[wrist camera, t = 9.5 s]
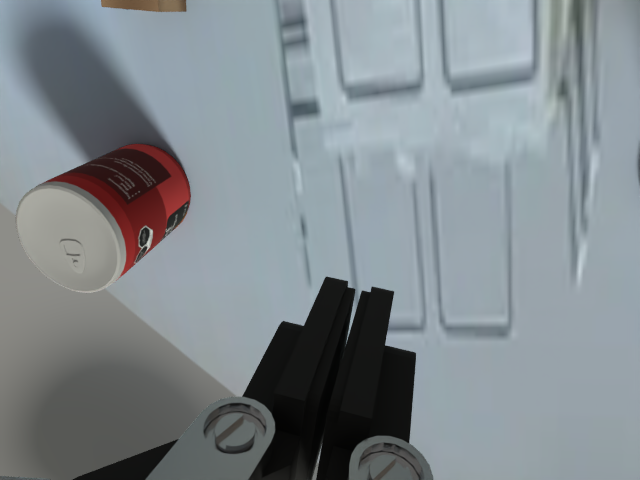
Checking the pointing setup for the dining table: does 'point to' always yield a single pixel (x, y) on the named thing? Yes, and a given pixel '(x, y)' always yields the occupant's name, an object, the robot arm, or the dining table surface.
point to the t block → (147, 5)
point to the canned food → (102, 216)
